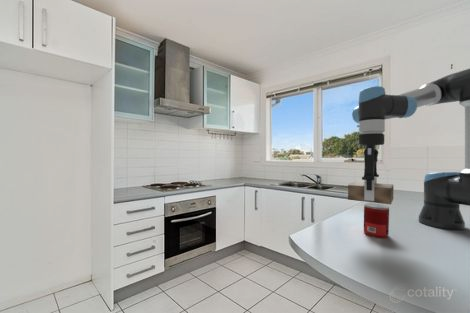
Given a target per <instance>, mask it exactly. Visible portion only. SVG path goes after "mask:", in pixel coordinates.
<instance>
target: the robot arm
mask: <svg viewBox="0 0 470 313" xmlns="http://www.w3.org/2000/svg"><path fill="white" fill-rule="evenodd" d="M453 102H459V105H461V107H464V168H463V169H461V170H460V171H445V172H443V171H442V172H428V173H426V174H425V175H424V178H423V180H424V181H423V206H422V208H421V210H420V212H419V215H418V219H417V220H418V222H419V223H422V225H426V226H430V227H434V228H440V229H446V230H456V231H457V230H458V231H461V230H465V229H466V223H465V220H464V217H463V215H462V213H461V210H460V205H462V206H467V207H470V68H467V69H463V70H461V71H458V72H457V71H456V72H454V73H450V74H448V75H446V76H443V77H441V78H438V79H436V80H434V81H431V82H428V83H425V84H423V85H422V86H421V87H420V88H416V89H413V90H409V91H406V92H403V93H398V94H397V95H395V94H386V91H385V87H383V86H380V85H379V86H378V85H377V86H369V87H365V88H362V89H361V90H360V92H359V95H358V106H356V107H355V108H354V109H353V111H352V113H351V116H352V120H353V121H354V123H356V124H357V125H356V127H357V128H358V134H359V133H360V134H359V135H358V145H359V146H366V148H365V149H364V150H363V156H364V170H363V171H364V172H363V173H364V174H363V176H361V180H363V181H364V200H369V201H374V183H378V180H377V178H379V176H380V175H379V174H378V172H377V170H378V169H377V168H378V167H377V165H378V164H377V163H378V161H379V160H378V159H379V158H378V156H379V150H378V149H377V147H376V146H382V145H383V146H384V144H385V134H384V132H385V131H386V130H385V128H386V127H385V126H386V125H385V124H386V120H389V119H396V118H397V119H398V118H399V119H402V118H406V119H407V118H409V117H412V116H413V115H414V114H415V113H416V111H417V110H418V108H421V107H423V106H426V107H431V106H435V105H441V104H446V103H447V104H448V103H453Z"/></svg>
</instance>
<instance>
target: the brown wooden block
mask: <svg viewBox="0 0 470 313" xmlns="http://www.w3.org/2000/svg"><path fill="white" fill-rule="evenodd" d="M347 200H348V201H358V202H365V203H372V204H381V205H392V204H393V201H394V184H391V183H378V182H377V183H374V201H369V200H364V182H361V181H354V182H352V183H349V184H347Z"/></svg>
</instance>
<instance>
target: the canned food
mask: <svg viewBox="0 0 470 313" xmlns="http://www.w3.org/2000/svg"><path fill="white" fill-rule="evenodd" d="M389 230H390V207H389V206H388V205H387V204H382V203H373V202H366V203H364V205H363V233H364V234H365V235H367V236H369V237H372V238H377V239H386V238H388V237H389V232H390V231H389Z"/></svg>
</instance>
